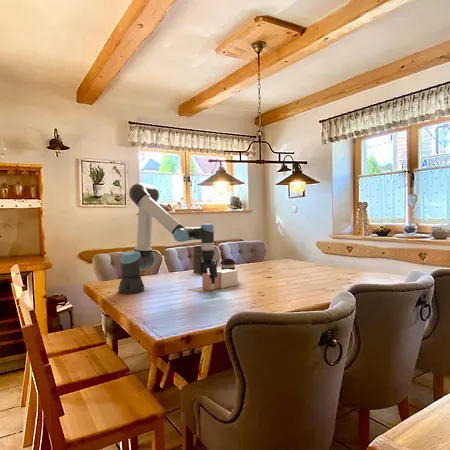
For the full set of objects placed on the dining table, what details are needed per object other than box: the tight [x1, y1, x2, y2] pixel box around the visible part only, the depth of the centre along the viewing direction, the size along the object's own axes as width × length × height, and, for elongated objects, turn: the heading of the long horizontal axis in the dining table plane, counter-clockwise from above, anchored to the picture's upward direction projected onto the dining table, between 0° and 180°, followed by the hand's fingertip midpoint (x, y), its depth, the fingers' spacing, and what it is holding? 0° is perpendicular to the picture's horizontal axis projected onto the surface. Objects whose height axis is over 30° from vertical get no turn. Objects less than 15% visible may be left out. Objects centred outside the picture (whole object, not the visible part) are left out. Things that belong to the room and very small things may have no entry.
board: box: [187, 284, 241, 294], centre depth 215 cm, size 30×14×1 cm, turn 131°
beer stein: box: [193, 245, 209, 274], centre depth 276 cm, size 15×11×20 cm
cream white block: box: [217, 269, 239, 288], centre depth 221 cm, size 13×9×9 cm
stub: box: [201, 271, 219, 290], centre depth 213 cm, size 8×6×9 cm
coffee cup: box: [220, 258, 236, 270], centre depth 236 cm, size 10×10×15 cm
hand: (208, 288), depth 212 cm, fingers closed on stub, 6 cm apart
